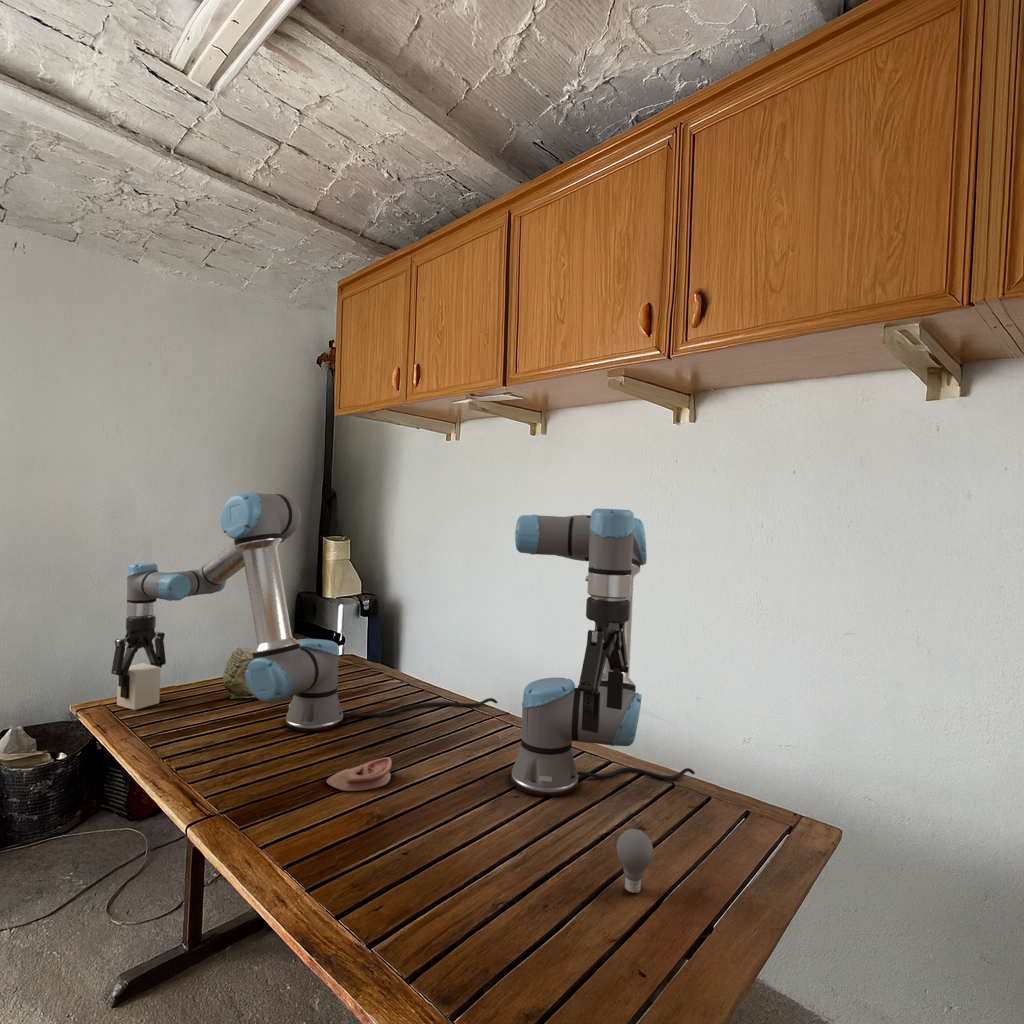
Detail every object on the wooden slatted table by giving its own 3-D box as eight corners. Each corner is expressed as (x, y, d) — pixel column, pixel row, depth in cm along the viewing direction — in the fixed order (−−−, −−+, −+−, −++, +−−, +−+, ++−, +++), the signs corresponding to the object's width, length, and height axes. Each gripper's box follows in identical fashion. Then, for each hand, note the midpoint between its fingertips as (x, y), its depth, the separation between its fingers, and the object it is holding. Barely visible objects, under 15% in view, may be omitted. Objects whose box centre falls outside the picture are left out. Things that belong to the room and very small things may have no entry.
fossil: (218, 695, 195) (220, 647, 195) (278, 685, 208) (279, 640, 207) (228, 703, 189) (230, 653, 188) (289, 692, 201) (290, 645, 201)
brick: (141, 698, 190) (142, 662, 190) (159, 703, 187) (160, 667, 187) (116, 704, 184) (117, 668, 184) (134, 710, 180) (135, 672, 180)
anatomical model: (320, 769, 137) (344, 749, 149) (319, 787, 138) (343, 766, 149) (377, 777, 135) (397, 756, 146) (376, 795, 135) (397, 773, 146)
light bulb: (610, 879, 108) (613, 822, 108) (644, 879, 109) (647, 822, 109) (619, 902, 102) (622, 840, 102) (655, 901, 103) (658, 840, 103)
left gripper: (165, 609, 196) (162, 683, 196) (97, 619, 177) (94, 700, 178) (181, 612, 192) (179, 687, 193) (114, 623, 174) (111, 705, 174)
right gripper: (609, 587, 123) (604, 696, 123) (561, 604, 100) (555, 737, 101) (647, 591, 119) (642, 703, 120) (607, 609, 97) (601, 747, 97)
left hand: (138, 693), depth 185 cm, fingers closed on brick, 8 cm apart
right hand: (602, 719), depth 110 cm, fingers open, 13 cm apart
